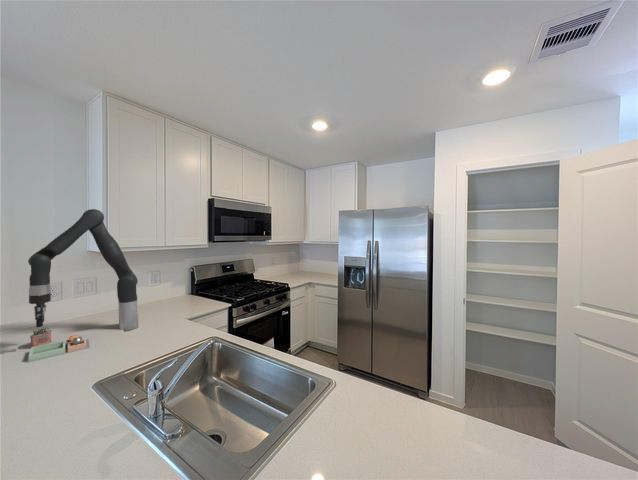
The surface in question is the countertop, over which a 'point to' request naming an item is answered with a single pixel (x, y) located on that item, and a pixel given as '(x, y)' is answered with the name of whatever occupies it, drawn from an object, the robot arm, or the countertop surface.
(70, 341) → the button
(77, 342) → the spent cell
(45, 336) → the lighter
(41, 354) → the divided organizer tray
